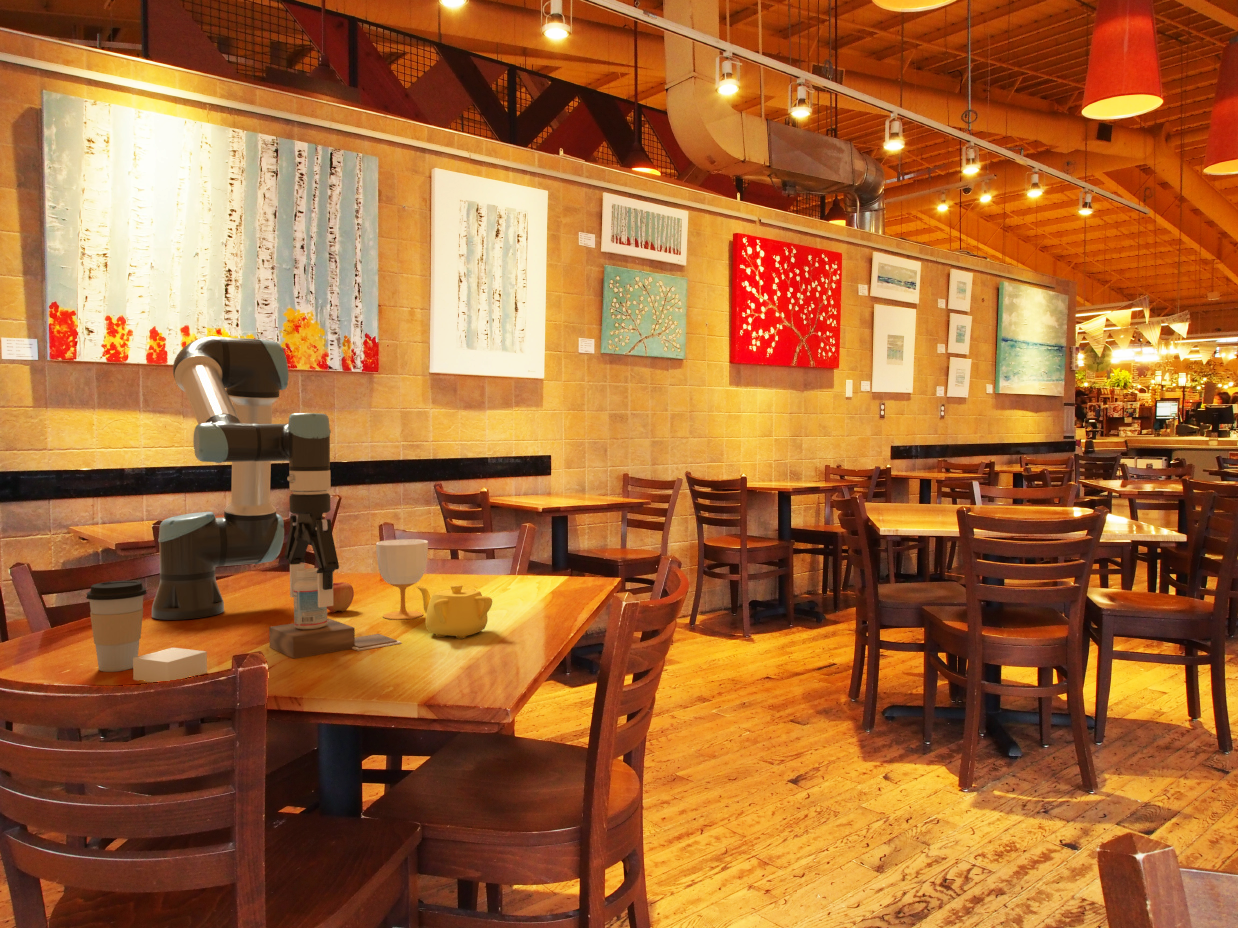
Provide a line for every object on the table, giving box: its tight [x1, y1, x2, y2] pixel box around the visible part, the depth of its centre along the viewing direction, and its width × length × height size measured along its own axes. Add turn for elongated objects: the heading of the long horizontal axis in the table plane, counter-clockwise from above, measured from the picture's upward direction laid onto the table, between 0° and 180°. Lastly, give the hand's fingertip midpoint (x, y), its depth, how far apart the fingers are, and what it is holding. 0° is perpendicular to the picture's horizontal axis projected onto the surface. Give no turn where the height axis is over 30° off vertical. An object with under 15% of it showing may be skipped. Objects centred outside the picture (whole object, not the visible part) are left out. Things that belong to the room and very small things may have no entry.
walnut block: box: [269, 617, 356, 659], centre depth 171 cm, size 12×12×4 cm
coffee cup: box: [85, 580, 148, 673], centre depth 156 cm, size 9×9×15 cm
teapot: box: [415, 584, 493, 639], centre depth 182 cm, size 14×13×10 cm
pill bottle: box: [293, 567, 328, 630], centre depth 171 cm, size 6×6×11 cm
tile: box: [352, 633, 402, 652], centre depth 174 cm, size 9×9×1 cm
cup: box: [375, 538, 429, 621], centre depth 201 cm, size 12×12×17 cm
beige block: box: [132, 647, 208, 683], centre depth 150 cm, size 8×8×4 cm
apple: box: [327, 581, 355, 614], centre depth 206 cm, size 7×7×8 cm
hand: (311, 601), depth 170 cm, fingers open, 13 cm apart
